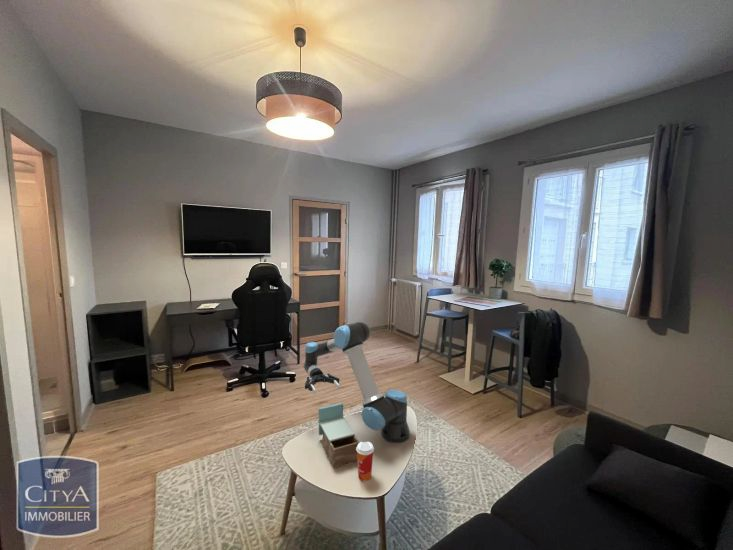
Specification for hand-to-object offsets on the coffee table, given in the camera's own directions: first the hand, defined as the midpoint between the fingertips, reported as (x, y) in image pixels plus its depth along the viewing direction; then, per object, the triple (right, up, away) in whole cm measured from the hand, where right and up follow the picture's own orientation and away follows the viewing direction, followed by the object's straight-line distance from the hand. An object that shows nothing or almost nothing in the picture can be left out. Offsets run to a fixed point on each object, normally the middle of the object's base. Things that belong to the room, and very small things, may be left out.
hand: (327, 389), depth 164 cm
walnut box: (+9, -24, -17) cm, 31 cm away
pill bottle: (+21, -26, -32) cm, 46 cm away
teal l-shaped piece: (+6, -21, -12) cm, 25 cm away
